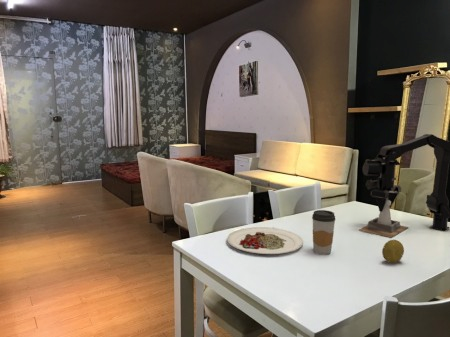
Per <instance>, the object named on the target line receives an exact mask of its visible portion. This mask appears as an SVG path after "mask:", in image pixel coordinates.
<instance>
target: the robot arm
mask: <svg viewBox="0 0 450 337" xmlns="http://www.w3.org/2000/svg"><path fill="white" fill-rule="evenodd" d="M425 146H429V147H431V148H433V155H434V157H435V160H436V164H435V171H434V178H433V180H434V181H433V188H432V192H431V193H430V194H427V195H426V200H425V204H426V206H427V208H428V210H429V213H431V214H433V216H432V225H430V226H429V228H430V229H433V230H438V231H443V232H446V231H448V230H449V229H450V226H448V221H449V218H450V207H449V199H448V196H447V194H446V193H447V192H446V191H447V183H448V176H449V170H450V169H449V167H450V140H446V139H443V138H440V137H438V136H436V135H435V134H432V133H425V134H423V135H421V136H419V137H416V138H415V137H414V138H413V139H410V140H407V141H404V142H402V143H399V144H398V143H397V144H390V145H385V146H382V147H381V148H380V150H379V152H378V154H377V155H376V157H375V158H374V159H365V162H364V163H363V165H362V173H363V175H364V176H379V175H380V176H379V177H377V179H376V180H372V179H368V180H366V183H365V187H366V188H367V190H371V189H372V190H371V191H370V196H371V197H372V198H374V199H375V200H376V203H377V206H378V211H379V213H380V212H382V211H383V209H384V207H385V204H386V202H387V200H390V201H391V205H390V206H389V207H390V209H391V208H392V206H393V204H394V203H395V202H396V199H397V198H398V196H399V195H400V194H401V192H402V187H401V186H400V185H397V184H395V181H396V180H397V177H395V176H396V166H401V165H402V164H401V162H399V160H398V159H399V158H401V157H402V156H403V155H404V154H406V153H408V152H411V151H414V150H417V149H419V148H423V147H425Z"/></svg>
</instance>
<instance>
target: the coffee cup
mask: <svg viewBox="0 0 450 337" xmlns="http://www.w3.org/2000/svg"><path fill="white" fill-rule="evenodd" d="M311 219H312V243H313V244H312V245H313V248H312V249H313V251H314V253H316V254H318V255H322V256H323V255H324V256H326V255H330V254H331V252H332V247H333V241H334V232H335V230H334V229H335V221H336V216H335V212H333V211H330V210H327V209H326V210H325V209H318V210H314V211H313V214H312V217H311Z"/></svg>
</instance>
